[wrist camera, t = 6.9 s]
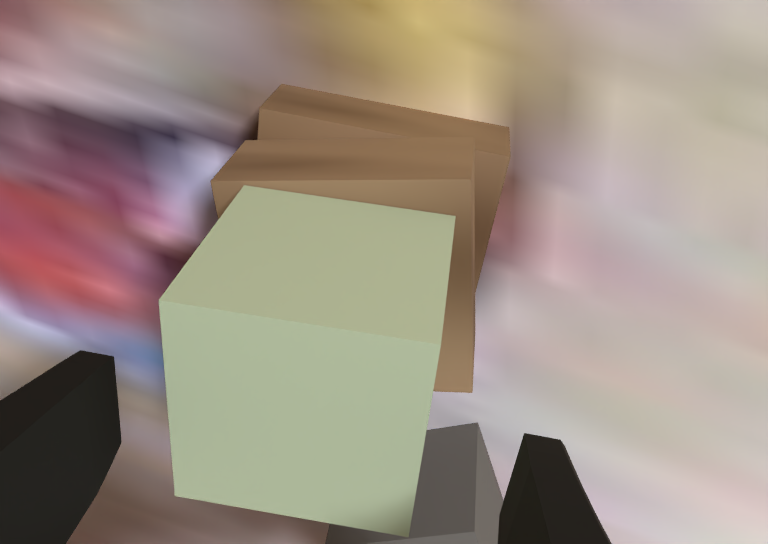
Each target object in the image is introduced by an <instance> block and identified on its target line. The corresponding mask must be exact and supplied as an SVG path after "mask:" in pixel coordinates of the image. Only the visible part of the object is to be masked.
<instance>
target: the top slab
mask: <svg viewBox="0 0 768 544" xmlns="http://www.w3.org/2000/svg"><path fill="white" fill-rule="evenodd" d="M244 185H246V186H253V187H260V188H267V189H274V190H281V191H287V192H294V193H301V194H308V195H315V196H322V197H329V198H335V199H342V200H349V201H356V202H363V203H370V204H377V205H384V206H390V207H397V208H404V209H411V210H418V211H425V212H432V213H438V214H445V215H452V216H456V218H455V226H454V235H453V244H452V253H451V261H450V270H449V279H448V288H447V296H446V305H445V314H444V323H443V332H442V340H441V348H440V354H439V360H438V365H437V371H436V377H435V383H434V389H433V391H440V392H467V393H472V389H473V368H474V347H475V137H413V138H352V139H290V140H245V142H244V143H243V144H242V145H241V146H240V147H239V149H238V150H237V151H236V152H235V153H234V154H233V156H232V157H231V158H230V159H229V160H228V161H227V163H226V164H225V165H224V166H223V167H222V168H221V170H220V171H219V172H218V173H217V174H216V175H215V177H214V178H213V179H212V180H211V186H212V191H213V196H214V201H215V206H216V211H217V216H218V220H219V218H220V217H221V216H222V214H223V213H224V211H225V210H226V209H227V207H228V206H229V205H230V203H231V202H232V201H233V199H234V198H235V197H236V195H237V194H238V193H239V191H240V190H241V189H242V187H243V186H244Z"/></svg>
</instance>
